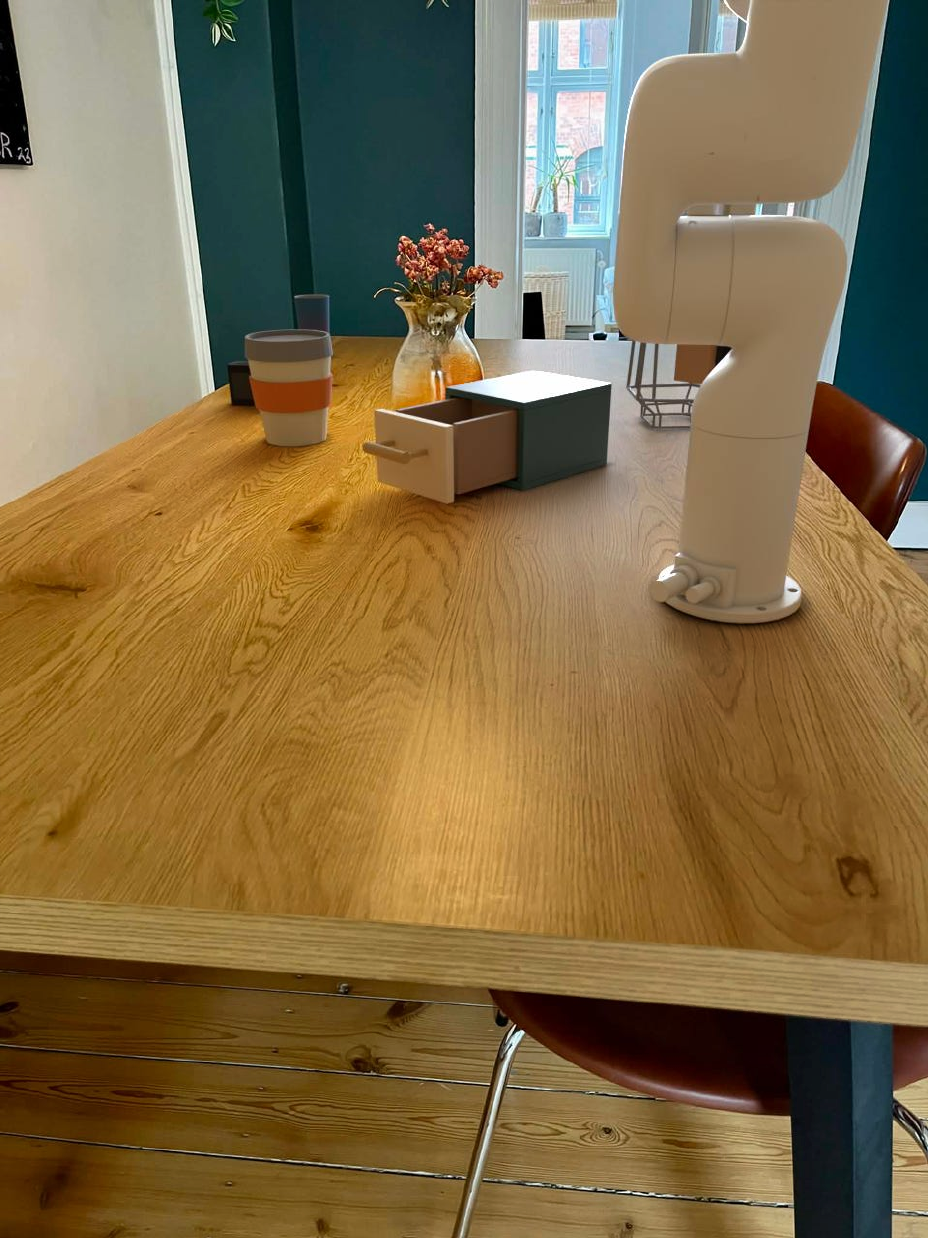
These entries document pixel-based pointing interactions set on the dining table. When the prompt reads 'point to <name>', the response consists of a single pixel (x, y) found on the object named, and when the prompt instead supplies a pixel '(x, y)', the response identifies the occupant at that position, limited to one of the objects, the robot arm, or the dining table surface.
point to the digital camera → (240, 383)
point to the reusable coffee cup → (291, 384)
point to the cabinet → (549, 422)
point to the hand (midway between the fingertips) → (704, 373)
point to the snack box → (694, 362)
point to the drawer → (446, 447)
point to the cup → (312, 312)
